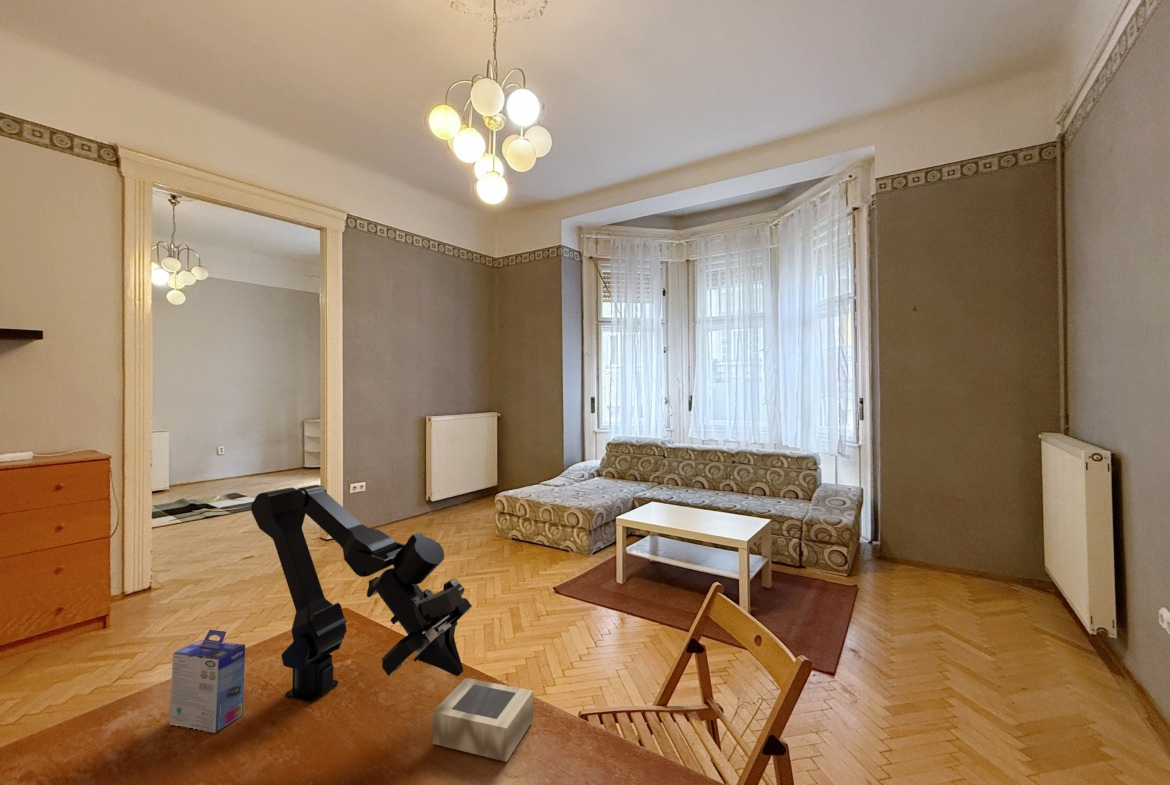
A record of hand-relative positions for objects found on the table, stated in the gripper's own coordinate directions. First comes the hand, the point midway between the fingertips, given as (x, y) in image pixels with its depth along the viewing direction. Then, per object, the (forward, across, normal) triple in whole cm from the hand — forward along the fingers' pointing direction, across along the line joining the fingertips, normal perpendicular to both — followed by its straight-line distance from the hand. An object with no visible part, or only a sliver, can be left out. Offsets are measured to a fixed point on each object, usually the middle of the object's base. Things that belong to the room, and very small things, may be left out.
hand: (460, 673), depth 82 cm
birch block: (+3, 0, +6) cm, 7 cm away
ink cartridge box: (-23, -11, +37) cm, 45 cm away
